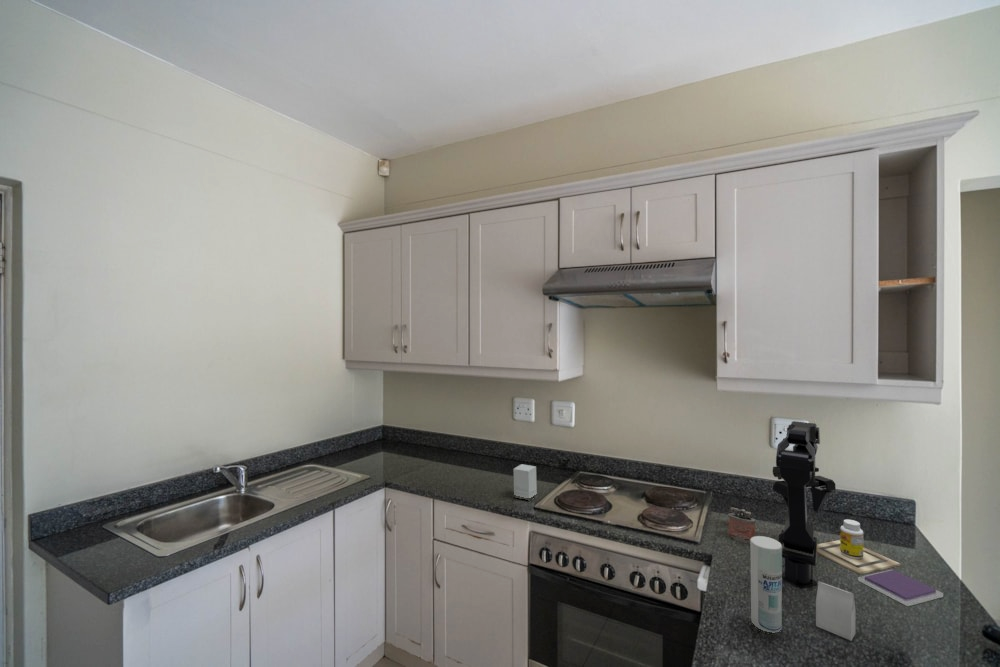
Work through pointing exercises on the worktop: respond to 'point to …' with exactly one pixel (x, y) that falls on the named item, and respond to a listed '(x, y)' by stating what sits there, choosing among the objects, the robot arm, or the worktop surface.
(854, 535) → the supplement bottle
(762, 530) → the worktop surface
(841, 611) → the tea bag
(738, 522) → the lighter
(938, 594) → the ink pad
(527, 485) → the supplement box
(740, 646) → the worktop surface
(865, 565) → the board
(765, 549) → the spray can
